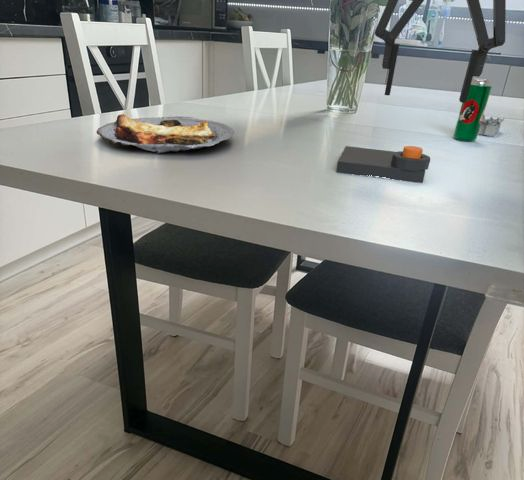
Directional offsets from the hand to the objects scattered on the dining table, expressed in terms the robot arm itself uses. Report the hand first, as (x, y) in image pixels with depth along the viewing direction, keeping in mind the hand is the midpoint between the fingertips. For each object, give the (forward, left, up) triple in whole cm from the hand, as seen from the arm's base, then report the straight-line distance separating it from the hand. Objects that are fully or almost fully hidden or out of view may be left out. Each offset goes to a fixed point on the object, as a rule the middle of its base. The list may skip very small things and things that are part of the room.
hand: (424, 97), depth 73 cm
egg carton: (-18, -52, -12) cm, 56 cm away
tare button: (0, 0, -9) cm, 9 cm away
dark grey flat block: (+4, -3, -12) cm, 13 cm away
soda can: (-13, -39, -12) cm, 43 cm away
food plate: (+44, -4, -12) cm, 46 cm away
